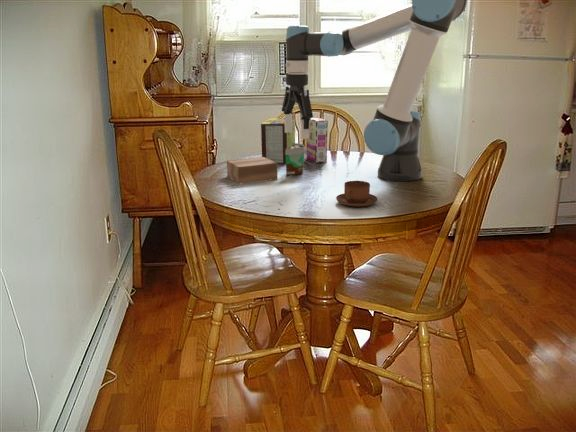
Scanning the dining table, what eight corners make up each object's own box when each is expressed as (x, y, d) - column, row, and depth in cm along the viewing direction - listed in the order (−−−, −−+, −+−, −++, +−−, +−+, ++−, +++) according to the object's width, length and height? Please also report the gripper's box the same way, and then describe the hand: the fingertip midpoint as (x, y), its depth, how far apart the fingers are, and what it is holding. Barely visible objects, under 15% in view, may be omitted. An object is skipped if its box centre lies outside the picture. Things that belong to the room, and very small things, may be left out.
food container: (302, 177, 200) (302, 149, 197) (285, 177, 201) (285, 148, 198) (308, 170, 211) (308, 143, 208) (292, 169, 212) (292, 142, 209)
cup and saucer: (374, 211, 161) (375, 190, 159) (332, 208, 164) (332, 187, 162) (379, 200, 172) (380, 180, 170) (340, 197, 175) (340, 177, 173)
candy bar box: (327, 162, 224) (328, 120, 219) (315, 163, 222) (316, 120, 218) (317, 157, 234) (318, 116, 229) (306, 158, 233) (306, 117, 228)
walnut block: (277, 180, 198) (277, 163, 196) (239, 184, 192) (238, 167, 190) (264, 173, 208) (263, 156, 206) (227, 177, 203) (226, 160, 201)
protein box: (295, 156, 236) (295, 118, 232) (287, 164, 222) (287, 123, 217) (270, 155, 238) (270, 117, 234) (261, 163, 224) (260, 123, 219)
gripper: (272, 71, 205) (272, 130, 211) (303, 76, 183) (302, 141, 190) (291, 71, 208) (291, 129, 214) (323, 75, 186) (322, 140, 193)
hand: (296, 135), depth 202 cm, fingers open, 13 cm apart
